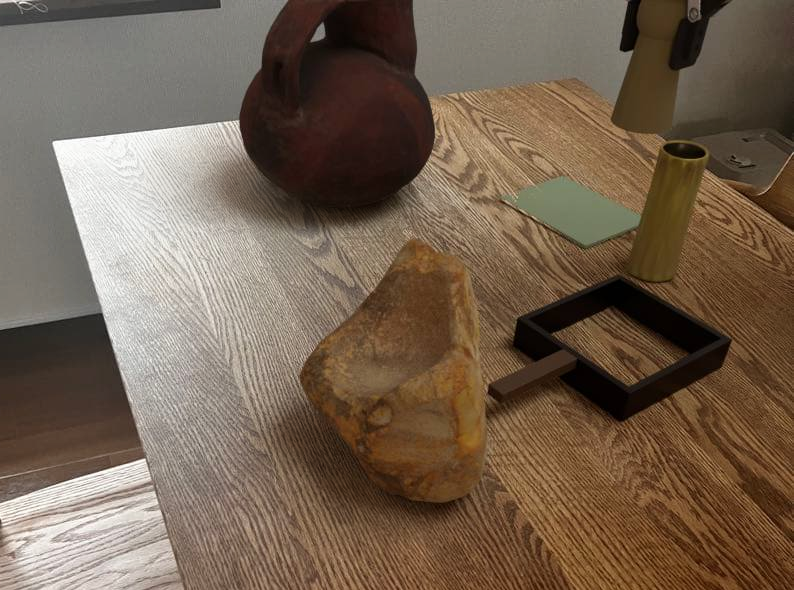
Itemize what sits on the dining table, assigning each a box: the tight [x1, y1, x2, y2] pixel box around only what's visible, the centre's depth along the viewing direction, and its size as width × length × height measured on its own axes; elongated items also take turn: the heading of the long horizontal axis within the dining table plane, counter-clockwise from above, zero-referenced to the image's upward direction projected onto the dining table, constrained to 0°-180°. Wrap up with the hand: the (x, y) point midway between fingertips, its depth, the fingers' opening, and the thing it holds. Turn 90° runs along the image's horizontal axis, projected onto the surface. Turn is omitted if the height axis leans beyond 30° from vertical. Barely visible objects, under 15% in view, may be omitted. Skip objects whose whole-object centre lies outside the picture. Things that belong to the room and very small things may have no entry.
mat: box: [501, 175, 642, 250], centre depth 109 cm, size 12×16×1 cm
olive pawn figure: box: [610, 0, 688, 135], centre depth 77 cm, size 6×6×11 cm
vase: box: [624, 139, 710, 283], centre depth 94 cm, size 6×6×14 cm
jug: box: [238, 0, 436, 208], centre depth 103 cm, size 25×25×25 cm
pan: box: [486, 273, 733, 423], centre depth 84 cm, size 26×16×4 cm, turn 127°
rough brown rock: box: [298, 237, 488, 503], centre depth 73 cm, size 23×17×15 cm
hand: (657, 55), depth 77 cm, fingers closed on olive pawn figure, 5 cm apart
